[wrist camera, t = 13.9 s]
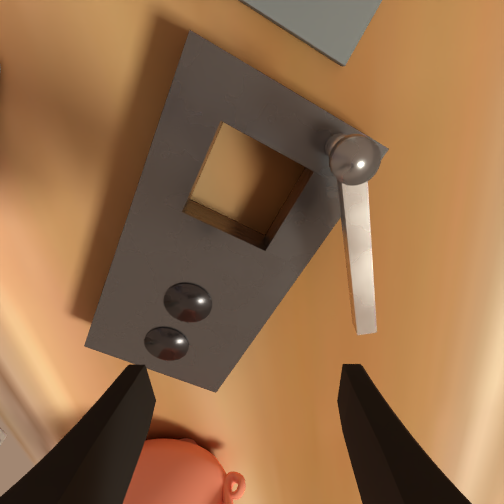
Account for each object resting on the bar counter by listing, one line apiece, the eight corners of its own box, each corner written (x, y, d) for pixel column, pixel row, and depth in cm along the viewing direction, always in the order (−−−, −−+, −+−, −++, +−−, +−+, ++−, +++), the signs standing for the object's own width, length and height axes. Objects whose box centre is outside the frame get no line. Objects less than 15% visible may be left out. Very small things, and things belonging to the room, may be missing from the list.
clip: (338, 304, 19) (352, 343, 16) (315, 131, 14) (328, 143, 11) (369, 299, 18) (388, 338, 16) (356, 121, 14) (380, 131, 11)
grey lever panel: (97, 326, 23) (83, 347, 21) (198, 36, 14) (189, 29, 12) (219, 370, 25) (215, 393, 23) (375, 141, 16) (389, 149, 14)
